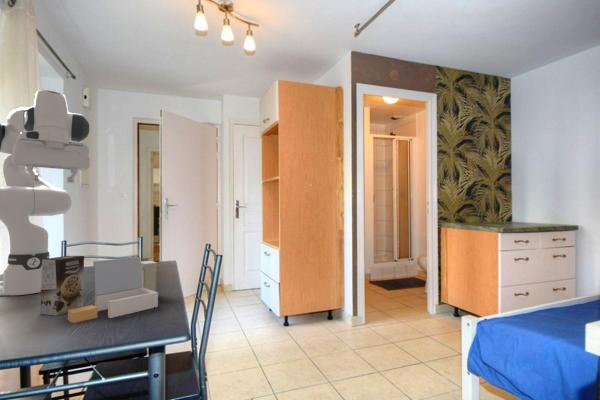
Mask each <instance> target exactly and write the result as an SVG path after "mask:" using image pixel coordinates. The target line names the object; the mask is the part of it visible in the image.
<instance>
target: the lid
mask: <svg viewBox="0 0 600 400" xmlns="http://www.w3.org/2000/svg"><path fill="white" fill-rule="evenodd" d="M141 261H142V260H141V256H133V257H132V256H131V257H124V258H123V257H122V258H115V259H107V260H98V261H97V260H96V261H92V262H93V263H92V264H93V277H94V278H93V282H94V297H95V296H97V295H102V294H107V293H113V292H118V291H124V290H129V289H135V288H140V287H142V276H141Z"/></svg>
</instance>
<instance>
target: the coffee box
mask: <svg viewBox="0 0 600 400" xmlns="http://www.w3.org/2000/svg"><path fill="white" fill-rule="evenodd" d="M84 269H85V255H63V256H58V257H49V258H48V259H42V275H41V292H40V306H39V314H40V315H48V316H60V315H63V314H65V313H68V310H71V309H75V308H80V307H84V304H83V303H84V278H85V277H84V275H85V274H84V273H85V272H84V271H85V270H84Z"/></svg>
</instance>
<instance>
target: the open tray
mask: <svg viewBox="0 0 600 400" xmlns="http://www.w3.org/2000/svg"><path fill="white" fill-rule="evenodd" d="M158 304H159V292H158V291H156V292H155V291H152V290H149V289H145V288H142V287H140V288H135V289H129V290H124V291H118V292H113V293H107V294H102V295H97V296H95V295H94V306H95V307H97V308H98V312H102V311H105V310H107V318H108V319H112V318H116V317H120V316H125V315H128V314H133V313H137V312H141V311H145V310H149V309H154V307H155V308H158V307H159V305H158Z"/></svg>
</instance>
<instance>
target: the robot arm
mask: <svg viewBox="0 0 600 400" xmlns="http://www.w3.org/2000/svg"><path fill="white" fill-rule="evenodd" d="M67 103H68V102H67V99H66V96H65V94H62V93H61V92H58V91H55V90H50V89H40V90H37V91H36V93H35V98H34V104H33V106H32V105H31V106H30V107H19V108H16V109H13V110H12V111H10V112H9V114H8V116H7V120H6V121H7V123H1V122H0V153H2V154H8V156H7V157H6V158H5V159H4V160H3V165H2V167H3V168H2V171H3V177H4V181H5V184H6V186H0V221H1V222H2V223H3V224H4V226H5V227H6V229H7V232H8V237H9V254H8V256H7V264H8V265H7V267H6V268H5V269H4V270H3V273H1V274H0V296H21V295H32V294H36V293H37V294H38V293H41V275H42V259H48V258H51V257H50V252H49V233H48V231H47V229H45V228H44V227H42V226H40V225H38V224H35V223H32V222H31V221H30V218H29V217H45V216H46V217H53V216H58V215H63V214H64V215H65V214H66V213H68V211H69V210H70V209H71V207H72V203H73V202H72V197H71V195H70V193H69V192H68V191H67V190H65V189H62V188H59V187H56V186H55V185H52V184H51V183H49V182H47V181H46V180H45V179H43V178H42V176H41V174H40V171H39V169H38V168H43V169H44V168H45V169H58V170H59V169H60V170H70V173H71V175H70V176H67V177H66V181H67V183H69V184H74V182H75V177H76V176H77V174H78V172H79V171H86V170H88V169H89V168H90V166H91V165H90V158H89V153H90V152H89V151H90V149H89V147H88V146H87V145H86V144H84V143H82V141H83V140H85V139H87V137H88V136H89V134H90V123H89V120H88V119H86V117H84V115H83V114H82V113H75V112H74V113H72V112H69V109H68V104H67Z"/></svg>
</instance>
